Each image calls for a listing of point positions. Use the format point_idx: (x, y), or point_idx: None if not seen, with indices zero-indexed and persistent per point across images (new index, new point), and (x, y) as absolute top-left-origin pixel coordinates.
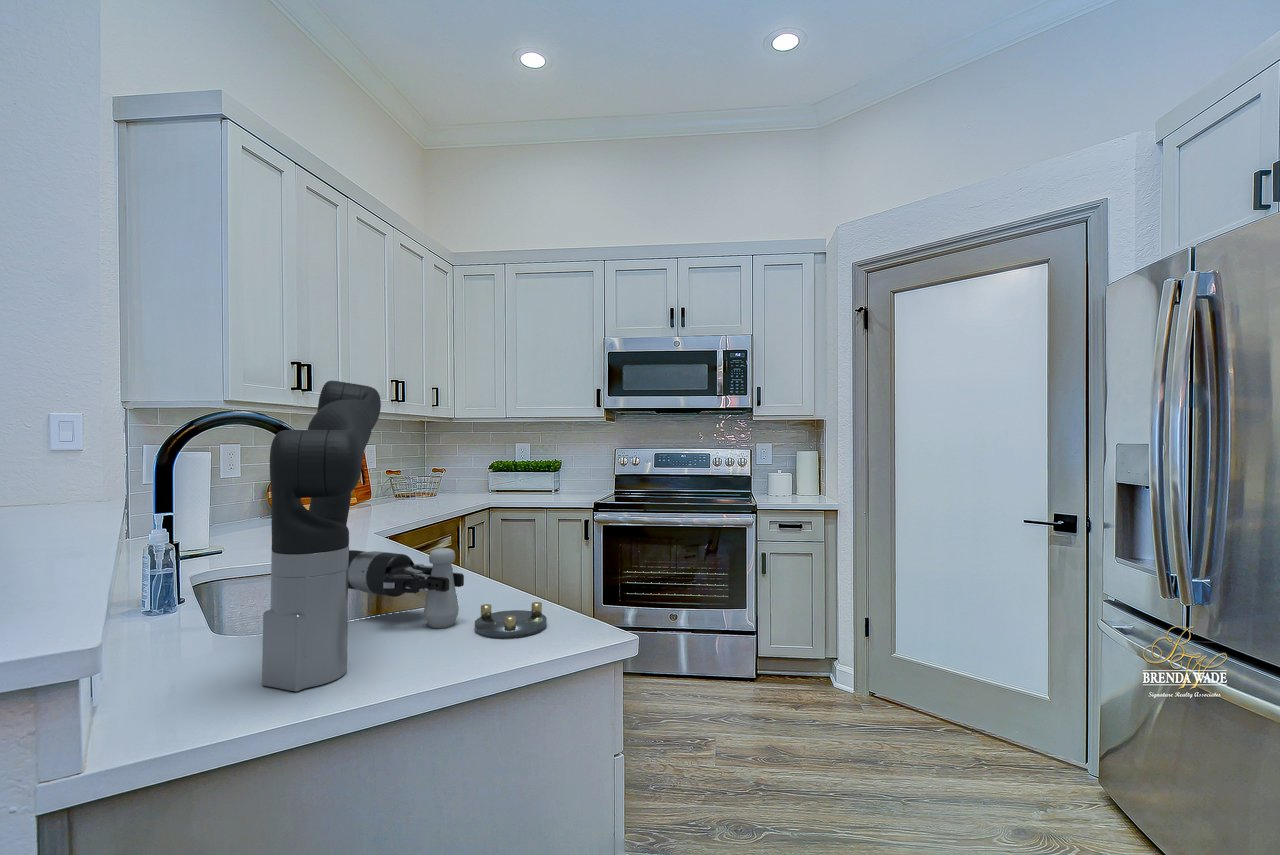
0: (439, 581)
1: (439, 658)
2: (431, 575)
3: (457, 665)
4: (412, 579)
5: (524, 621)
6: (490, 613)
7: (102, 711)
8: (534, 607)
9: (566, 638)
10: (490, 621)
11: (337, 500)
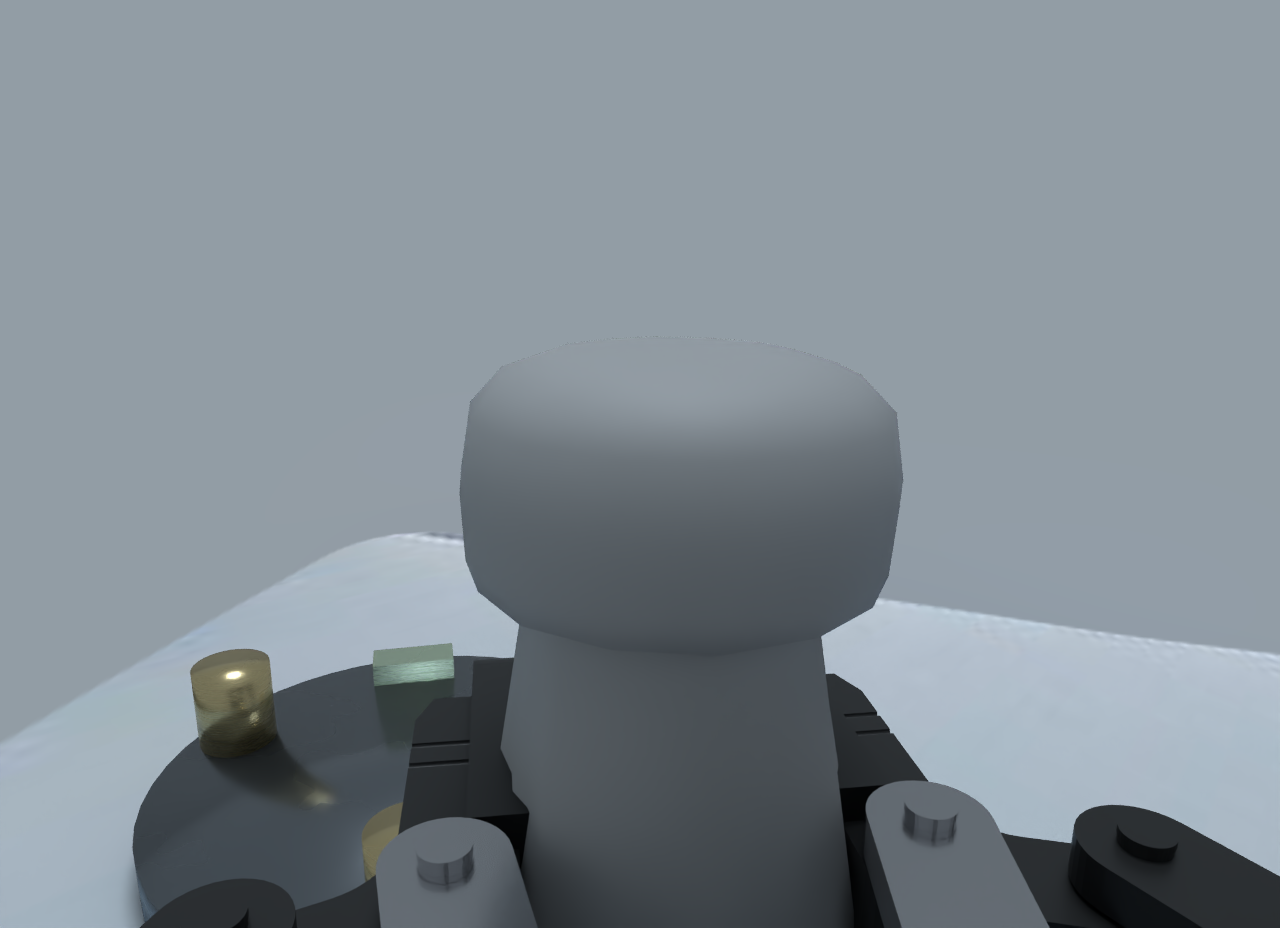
0: (848, 688)
1: (1064, 779)
2: (837, 794)
3: (1016, 695)
4: (1204, 853)
5: (408, 718)
6: None
7: None
8: (270, 678)
9: (466, 616)
10: None
11: None
